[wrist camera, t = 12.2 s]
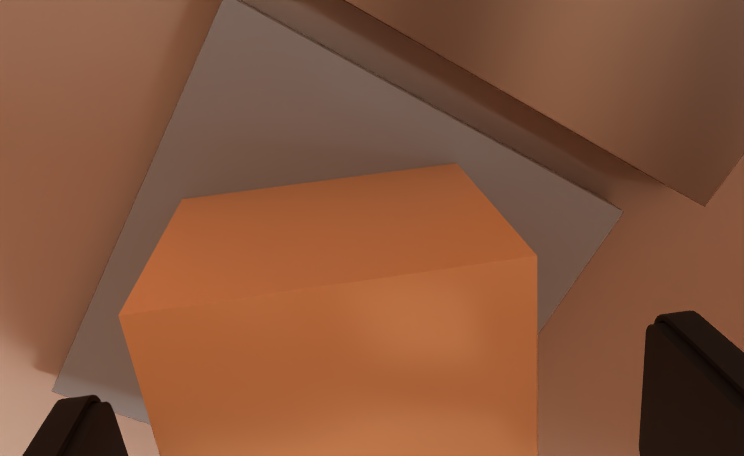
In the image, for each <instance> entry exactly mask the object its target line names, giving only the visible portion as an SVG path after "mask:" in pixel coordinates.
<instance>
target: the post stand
mask: <svg viewBox="0 0 744 456" xmlns="http://www.w3.org/2000/svg"><path fill="white" fill-rule="evenodd" d="M344 1H346V2H348V3H350V4H351V5H353V6H355V7H357V8H358V9H360V10H362V11H364V12H365V13H367V14H369V15H370V16H372V17H374V18H376V19H377V20H379V21H381V22H383V23H384V24H386V25H388V26H390V27H391V28H393V29H395V30H397V31H398V32H400V33H402V34H404V35H405V36H407V37H409V38H411V39H412V40H414V41H416V42H417V43H419V44H421V45H423V46H424V47H426V48H428V49H430V50H431V51H433V52H435V53H437V54H438V55H440V56H442V57H444V58H445V59H447V60H449V61H451V62H452V63H454V64H456V65H458V66H459V67H461V68H463V69H464V70H466V71H468V72H470V73H471V74H473V75H475V76H477V77H478V78H480V79H482V80H484V81H485V82H487V83H489V84H491V85H492V86H494V87H496V88H498V89H499V90H501V91H503V92H505V93H506V94H508V95H510V96H511V97H513V98H515V99H517V100H518V101H520V102H522V103H524V104H525V105H527V106H529V107H531V108H532V109H534V110H536V111H538V112H539V113H541V114H543V115H545V116H546V117H548V118H550V119H551V120H553V121H555V122H557V123H558V124H560V125H562V126H564V127H565V128H567V129H569V130H571V131H572V132H574V133H576V134H578V135H579V136H581V137H583V138H585V139H586V140H588V141H590V142H592V143H593V144H595V145H597V146H598V147H600V148H602V149H604V150H605V151H607V152H609V153H611V154H612V155H614V156H616V157H618V158H619V159H621V160H623V161H625V162H626V163H628V164H630V165H632V166H633V167H635V168H637V169H639V170H640V171H642V172H644V173H645V174H647V175H649V176H651V177H652V178H654V179H656V180H658V181H659V182H661V183H663V184H665V185H666V186H668V187H670V188H672V189H674V190H675V191H677V192H679V193H681V194H683V195H684V196H686V197H688V198H690V199H692V200H694V201H695V202H697V203H699V204H701V205H703V206H704V207H705V206H706V204H707V203H708V202H709V200H710V199H711V197H712V196H713V195H714V193H715V192H716V191H717V189H718V188H719V187H720V185H721V184H722V183H723V181H724V180H725V179H726V177H727V176H728V175H729V173H730V172H731V170H732V169H733V168H734V166H735V165H736V164H737V162H738V161H739V160H740V158H741V157H742V156H743V154H744V0H344Z"/></svg>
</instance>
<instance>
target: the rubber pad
mask: <svg viewBox="0 0 744 456" xmlns="http://www.w3.org/2000/svg"><path fill="white" fill-rule="evenodd" d="M453 163H457V164H458V165H459V166H460V168H461V169H462V170H463V171H464V172H465V173H466V174H467V176H468V177H469V178H470V179H471V180H472V181H473V183H474V184H475V185H476V186H477V187H478V188H479V189H480V191H481V192H482V193H483V194H484V195H485V196H486V197H487V199H488V200H489V201H490V202H491V203H492V204H493V206H494V207H495V208H496V209H497V210H498V211H499V212H500V214H501V215H502V216H503V217H504V218H505V219H506V220H507V222H508V223H509V224H510V225H511V226H512V227H513V229H514V230H515V231H516V232H517V233H518V234H519V235H520V237H521V238H522V239H523V240H524V241H525V242H526V243H527V245H528V246H529V247H530V248H531V249H532V250H533V252H534V253H535V254H536V255H537V335H538V334H539V332H540V331H541V329H542V328H543V326H544V325H545V324H546V322H547V321H548V319H549V318H550V316H551V315H552V314H553V312H554V311H555V309H556V308H557V306H558V305H559V304H560V302H561V301H562V299H563V298H564V296H565V295H566V294H567V292H568V291H569V289H570V288H571V286H572V285H573V284H574V282H575V281H576V279H577V278H578V276H579V275H580V274H581V272H582V271H583V269H584V268H585V266H586V265H587V264H588V262H589V261H590V259H591V258H592V256H593V255H594V254H595V252H596V251H597V249H598V248H599V246H600V245H601V244H602V242H603V241H604V239H605V238H606V236H607V235H608V234H609V232H610V231H611V229H612V228H613V226H614V225H615V224H616V222H617V221H618V219H619V218H620V216H621V215H622V214H623V211H622V210H620V209H619V208H617V207H616V206H615V205H613V204H612V203H610V202H608V201H606V200H604V199H603V198H601V197H599V196H597V195H595V194H593V193H592V192H590V191H588V190H586V189H584V188H583V187H581V186H579V185H577V184H575V183H573V182H572V181H570V180H568V179H566V178H564V177H562V176H561V175H559V174H557V173H555V172H553V171H551V170H550V169H548V168H546V167H544V166H542V165H540V164H539V163H537V162H535V161H533V160H531V159H529V158H528V157H526V156H524V155H522V154H520V153H519V152H517V151H515V150H513V149H511V148H509V147H508V146H506V145H504V144H502V143H500V142H498V141H497V140H495V139H493V138H491V137H489V136H487V135H486V134H484V133H482V132H480V131H478V130H476V129H475V128H473V127H471V126H469V125H467V124H466V123H464V122H462V121H460V120H458V119H456V118H455V117H453V116H451V115H449V114H447V113H445V112H444V111H442V110H440V109H438V108H436V107H434V106H433V105H431V104H429V103H427V102H425V101H423V100H422V99H420V98H418V97H416V96H414V95H412V94H411V93H409V92H407V91H405V90H403V89H402V88H400V87H398V86H396V85H394V84H392V83H391V82H389V81H387V80H385V79H383V78H381V77H380V76H378V75H376V74H374V73H372V72H370V71H369V70H367V69H365V68H363V67H361V66H359V65H358V64H356V63H354V62H352V61H350V60H349V59H347V58H345V57H343V56H341V55H339V54H338V53H336V52H334V51H332V50H330V49H328V48H327V47H325V46H323V45H321V44H319V43H317V42H316V41H314V40H312V39H310V38H308V37H306V36H305V35H303V34H301V33H299V32H297V31H295V30H294V29H292V28H290V27H288V26H286V25H285V24H283V23H281V22H279V21H277V20H275V19H274V18H272V17H270V16H268V15H266V14H264V13H263V12H261V11H259V10H257V9H255V8H253V7H252V6H250V5H248V4H246V3H244V2H242V1H241V0H222V2H221V5H220V7H219V9H218V11H217V14H216V16H215V18H214V21H213V23H212V25H211V27H210V30H209V32H208V34H207V37H206V39H205V41H204V43H203V46H202V48H201V50H200V53H199V55H198V57H197V59H196V62H195V64H194V66H193V69H192V71H191V73H190V75H189V78H188V80H187V82H186V85H185V87H184V89H183V92H182V94H181V96H180V98H179V101H178V103H177V105H176V108H175V110H174V112H173V114H172V117H171V119H170V121H169V124H168V126H167V128H166V130H165V133H164V135H163V137H162V140H161V142H160V144H159V146H158V149H157V151H156V153H155V156H154V158H153V160H152V163H151V165H150V167H149V169H148V172H147V174H146V176H145V179H144V181H143V183H142V185H141V188H140V190H139V192H138V195H137V197H136V199H135V201H134V204H133V206H132V208H131V211H130V213H129V215H128V217H127V220H126V222H125V224H124V227H123V229H122V231H121V233H120V236H119V238H118V240H117V243H116V245H115V247H114V250H113V252H112V254H111V256H110V259H109V261H108V263H107V266H106V268H105V270H104V272H103V275H102V277H101V279H100V282H99V284H98V286H97V288H96V291H95V293H94V295H93V298H92V300H91V302H90V304H89V307H88V309H87V311H86V314H85V316H84V318H83V321H82V323H81V325H80V327H79V330H78V332H77V334H76V337H75V339H74V341H73V343H72V346H71V348H70V350H69V353H68V355H67V357H66V359H65V362H64V364H63V366H62V369H61V371H60V373H59V375H58V378H57V380H56V382H55V385H54V387H53V389H52V392H55V393H58V394H61V395H64V396H67V397H70V398H73V397H80V396H87V395H97V396H98V397H99V398H100V400H101V402H106V401H107V402H109V403H110V404H111V406H112V408H113V411H114V413H117V414H120V415H123V416H126V417H129V418H132V419H135V420H138V421H141V422H144V423H147V424H150V425H151V423H150V420H149V417H148V413H147V410H146V407H145V403H144V400H143V397H142V393H141V390H140V387H139V383H138V380H137V377H136V373H135V370H134V367H133V363H132V360H131V356H130V353H129V350H128V346H127V343H126V340H125V336H124V333H123V330H122V326H121V323H120V320H119V316H118V315H119V313H120V311H121V310H122V308H123V306H124V304H125V302H126V300H127V299H128V297H129V295H130V293H131V291H132V290H133V288H134V286H135V284H136V282H137V280H138V279H139V277H140V275H141V273H142V271H143V270H144V268H145V266H146V264H147V262H148V260H149V259H150V257H151V255H152V253H153V251H154V249H155V248H156V246H157V244H158V242H159V240H160V239H161V237H162V235H163V233H164V231H165V229H166V228H167V226H168V224H169V222H170V220H171V219H172V217H173V215H174V213H175V211H176V209H177V208H178V206H179V204H180V202H181V200H182V199H188V198H195V197H203V196H210V195H218V194H226V193H233V192H241V191H248V190H256V189H264V188H271V187H279V186H286V185H294V184H301V183H309V182H317V181H324V180H332V179H339V178H347V177H355V176H362V175H370V174H377V173H385V172H392V171H400V170H408V169H415V168H423V167H430V166H438V165H446V164H453Z"/></svg>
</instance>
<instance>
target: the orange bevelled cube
mask: <svg viewBox="0 0 744 456" xmlns="http://www.w3.org/2000/svg"><path fill="white" fill-rule="evenodd" d="M118 316H119V320H120V323H121V326H122V330H123V333H124V336H125V340H126V343H127V346H128V350H129V353H130V356H131V360H132V363H133V367H134V370H135V373H136V377H137V380H138V383H139V387H140V390H141V393H142V397H143V400H144V403H145V407H146V410H147V413H148V417H149V420H150V423H151V427H152V430H153V434H154V437H155V440H156V444H157V447H158V450H159V454H160V456H538V403H537V255H536V254H535V253H534V252H533V250H532V249H531V248H530V247H529V246H528V245H527V243H526V242H525V241H524V240H523V239H522V238H521V237H520V235H519V234H518V233H517V232H516V231H515V230H514V229H513V227H512V226H511V225H510V224H509V223H508V222H507V220H506V219H505V218H504V217H503V216H502V215H501V214H500V212H499V211H498V210H497V209H496V208H495V207H494V206H493V204H492V203H491V202H490V201H489V200H488V199H487V197H486V196H485V195H484V194H483V193H482V192H481V191H480V189H479V188H478V187H477V186H476V185H475V184H474V183H473V181H472V180H471V179H470V178H469V177H468V176H467V174H466V173H465V172H464V171H463V170H462V169H461V168H460V166H459V165H458V164H457V163H453V164H446V165H438V166H430V167H423V168H415V169H408V170H400V171H392V172H385V173H377V174H370V175H362V176H355V177H347V178H339V179H332V180H324V181H317V182H309V183H301V184H294V185H286V186H279V187H271V188H264V189H256V190H248V191H241V192H233V193H226V194H218V195H210V196H203V197H195V198H188V199H182V200H181V202H180V204H179V206H178V208H177V209H176V211H175V213H174V215H173V217H172V219H171V220H170V222H169V224H168V226H167V228H166V229H165V231H164V233H163V235H162V237H161V239H160V240H159V242H158V244H157V246H156V248H155V249H154V251H153V253H152V255H151V257H150V259H149V260H148V262H147V264H146V266H145V268H144V270H143V271H142V273H141V275H140V277H139V279H138V280H137V282H136V284H135V286H134V288H133V290H132V291H131V293H130V295H129V297H128V299H127V300H126V302H125V304H124V306H123V308H122V310H121V311H120V313H119V315H118Z"/></svg>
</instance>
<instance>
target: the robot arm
mask: <svg viewBox="0 0 744 456" xmlns="http://www.w3.org/2000/svg"><path fill="white" fill-rule="evenodd" d="M639 451H640V456H744V353H743V352H742V351H741V350H740V349H739V348H738V347H736V346H735V345H734V344H733V343H732V342H731V341H729V340H728V339H727V338H726V337H725V336H724V335H722V334H721V333H720V332H719V331H718V330H717V329H715V328H714V327H713V326H712V325H711V324H710V323H708V322H707V321H706V320H705V319H704V318H703V317H701V316H700V315H699V314H698V313H696V312H695V311H683V312H676V313H669V314H662V315H659V316H657V318H656V320H655V323H654V324H651V325H649V326H648V327H647V330H646V340H645V356H644V372H643V388H642V404H641V420H640V437H639ZM23 456H128V453H127V450H126V447H125V444H124V441H123V438H122V435H121V432H120V429H119V426H118V423H117V420H116V417H115V414H114V411H113V408H112V406H111V404H110V403H109V402H107V401H106V402H101V400H100V398H99V397H98V396H97V395H87V396H80V397H73V398H66V399H61V400H58V402H57V403H56V404H55V405H54V407H53V408H52V410H51V411H50V413H49V415H48V416H47V418H46V419H45V421H44V422H43V424H42V426H41V427H40V429H39V430H38V432H37V434H36V435H35V437H34V438H33V440H32V441H31V443H30V445H29V446H28V448H27V449H26V451H25V452H24V454H23Z"/></svg>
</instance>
